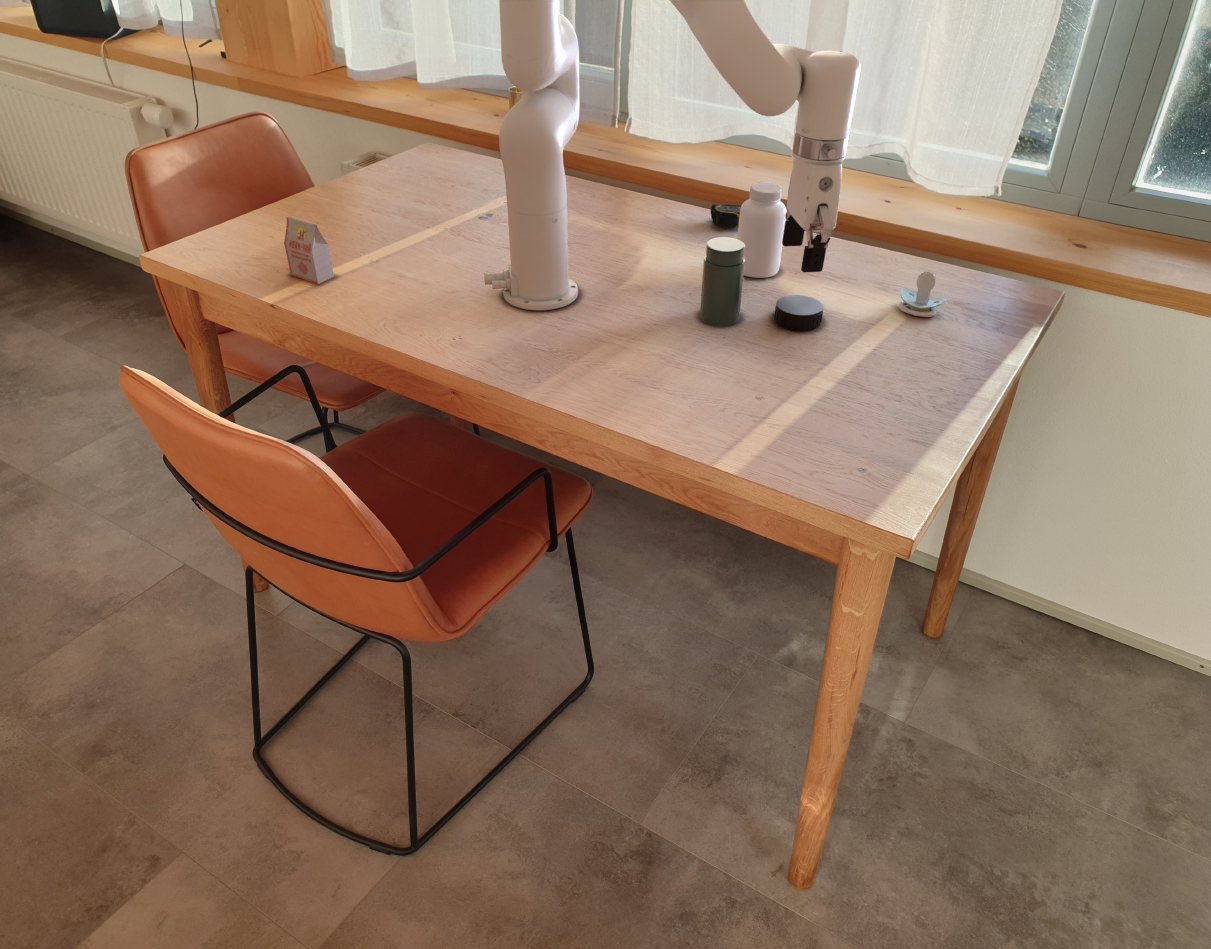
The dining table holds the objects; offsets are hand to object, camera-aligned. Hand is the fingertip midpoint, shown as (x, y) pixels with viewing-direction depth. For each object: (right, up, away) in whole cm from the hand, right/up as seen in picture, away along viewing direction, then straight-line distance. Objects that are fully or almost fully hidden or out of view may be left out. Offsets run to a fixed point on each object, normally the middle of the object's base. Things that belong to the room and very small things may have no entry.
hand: (801, 258), depth 144 cm
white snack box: (-82, +1, +19) cm, 84 cm away
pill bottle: (-3, +3, +22) cm, 23 cm away
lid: (+1, -7, +5) cm, 8 cm away
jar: (-12, -8, +7) cm, 16 cm away
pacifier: (+21, -7, +10) cm, 24 cm away
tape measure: (-7, +15, +39) cm, 43 cm away
